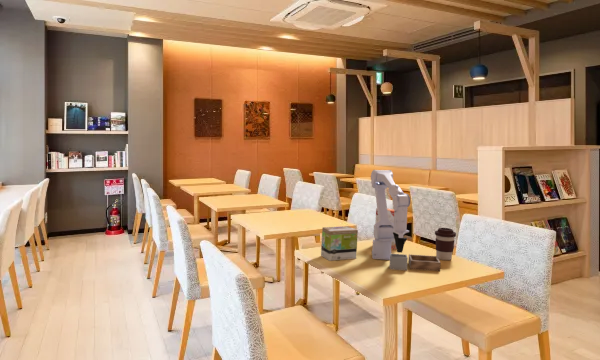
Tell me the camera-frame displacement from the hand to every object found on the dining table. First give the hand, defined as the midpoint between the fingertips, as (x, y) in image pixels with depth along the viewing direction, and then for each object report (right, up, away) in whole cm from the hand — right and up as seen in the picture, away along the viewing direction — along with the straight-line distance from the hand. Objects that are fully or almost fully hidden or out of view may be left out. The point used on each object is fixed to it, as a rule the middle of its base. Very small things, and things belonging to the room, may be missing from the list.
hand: (399, 250), depth 189 cm
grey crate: (0, -9, +1) cm, 9 cm away
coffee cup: (+27, -8, +19) cm, 34 cm away
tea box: (-26, -7, +16) cm, 31 cm away
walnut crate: (+12, -8, +4) cm, 16 cm away
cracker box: (+3, -5, +40) cm, 40 cm away
